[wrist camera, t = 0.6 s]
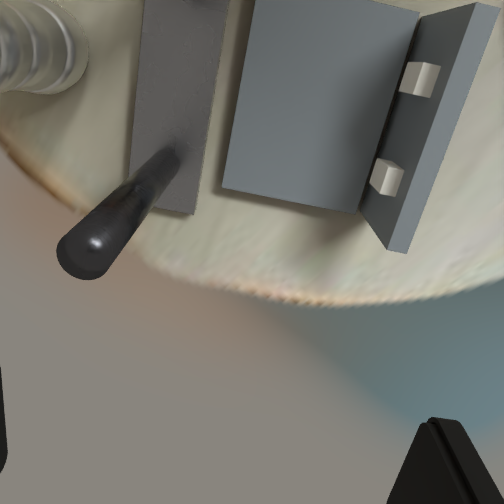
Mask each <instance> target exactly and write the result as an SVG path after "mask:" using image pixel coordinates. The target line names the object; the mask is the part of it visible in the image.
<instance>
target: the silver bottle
mask: <svg viewBox="0 0 504 504" xmlns="http://www.w3.org/2000/svg"><path fill="white" fill-rule="evenodd" d="M88 56H89V52H88V43H87V39H86V36H85V34H84V31H83V29H82V28H81V26H80V24H79V23H78V22H77V20H76V19H75V18H74V17H73V16H72V15H71V14H70V13H68V12H67V11H66V10H65V9H63V8H62V7H61V6H59V5H57V4H56V3H54V2H52V1H50V0H0V93H3V92H6V91H26V92H29V93H35V94H46V95H50V94H57V93H59V92H62V91H64V90H66V89H67V88H69V87H71V86H72V85H73V84H75V83H76V82H77V81H78V80H79V79H80V78H81V76H82V75H83V73H84V72H85V69H86V66H87V63H88Z"/></svg>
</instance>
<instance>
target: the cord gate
mask: <svg viewBox="0 0 504 504" xmlns="http://www.w3.org/2000/svg"><path fill="white" fill-rule="evenodd" d="M228 6H229V0H145V3H144V13H143V24H142V35H141V46H140V57H139V68H138V79H137V89H136V100H135V111H134V122H133V133H132V144H131V155H130V165H129V176H128V179H126V180H125V181H124V182H123V183H122V184H121V185H120V186H119V187H118V188H116V189H115V190H114V191H113V192H112V193H111V194H110V195H109V196H108V197H107V198H105V199H104V200H103V201H102V202H101V203H100V204H99V205H98V206H97V207H95V208H94V209H93V210H92V211H91V212H90V213H89V214H88V215H87V216H86V217H84V218H83V219H82V220H81V221H80V222H79V223H78V224H77V225H76V226H74V227H73V228H72V229H71V230H70V231H69V232H68V233H67V234H66V235H65V236H63V237H62V238H61V240H60V241H59V243H58V245H57V250H56V252H57V258H58V261H59V263H60V265H61V266H62V268H63V269H64V270H65V271H66V272H67V273H69V274H70V275H71V276H73V277H76V278H78V279H82V280H93V279H96V278H99V277H101V276H102V275H104V274H105V273H106V272H107V270H108V269H109V267H110V266H111V265H112V263H113V262H114V260H115V259H116V258H117V256H118V255H119V253H120V252H121V251H122V249H123V248H124V246H125V245H126V244H127V242H128V241H129V239H130V238H131V237H132V235H133V234H134V233H135V231H136V230H137V228H138V227H139V226H140V224H141V223H142V221H143V220H144V219H145V217H146V216H147V214H148V213H149V212H150V210H151V209H152V207H157V208H162V209H167V210H172V211H177V212H182V213H187V214H192V215H194V213H195V210H196V205H197V199H198V193H199V186H200V180H201V174H202V168H203V162H204V155H205V149H206V143H207V137H208V130H209V124H210V118H211V112H212V106H213V99H214V93H215V87H216V81H217V74H218V68H219V62H220V56H221V50H222V43H223V37H224V31H225V25H226V18H227V12H228Z"/></svg>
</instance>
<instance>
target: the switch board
mask: <svg viewBox="0 0 504 504" xmlns="http://www.w3.org/2000/svg"><path fill="white" fill-rule="evenodd" d="M500 9H501V8H498V7H494V6H490V5H486V4H482V3H478V2H476V3H472V4H468V5H464V6H461V7H457V8H453V9H449V10H446V11H442V12H438V13H434V14H431V15H427V16H423V17H422V19H421V23H420V26H419V29H418V32H417V35H416V38H415V41H414V44H413V47H412V51H411V54H410V57H409V60H408V63H407V66H406V69H405V72H404V75H403V79H402V82H401V85H400V88H399V91H398V94H397V97H396V100H395V103H394V107H393V110H392V113H391V116H390V119H389V122H388V125H387V128H386V131H385V135H384V138H383V141H382V144H381V147H380V150H379V153H378V156H377V159H376V162H375V166H374V169H373V172H372V175H371V178H370V181H369V184H368V187H367V190H366V194H365V197H364V200H363V203H362V206H361V209H360V212H361V213H362V215H363V216H364V217H365V219H366V220H367V222H368V223H369V225H370V226H371V228H372V229H373V231H374V232H375V233H376V235H377V236H378V238H379V239H380V241H381V242H382V244H383V245H384V247H385V248H386V250H389V251H394V252H399V253H404V254H407V252H408V249H409V246H410V244H411V241H412V239H413V236H414V233H415V231H416V228H417V226H418V223H419V220H420V218H421V215H422V212H423V210H424V207H425V205H426V202H427V199H428V197H429V194H430V192H431V189H432V186H433V184H434V181H435V179H436V176H437V173H438V171H439V168H440V166H441V163H442V160H443V158H444V155H445V152H446V150H447V147H448V145H449V142H450V139H451V137H452V134H453V132H454V129H455V126H456V124H457V121H458V119H459V116H460V113H461V111H462V108H463V106H464V103H465V100H466V98H467V95H468V92H469V90H470V87H471V85H472V82H473V79H474V77H475V74H476V72H477V69H478V66H479V64H480V61H481V59H482V56H483V53H484V51H485V48H486V45H487V43H488V40H489V38H490V35H491V32H492V30H493V27H494V25H495V22H496V19H497V17H498V14H499V12H500ZM419 13H420V12H416V11H411V10H407V9H403V8H399V7H395V6H391V5H386V4H382V3H378V2H374V1H370V0H256V1H255V7H254V12H253V18H252V23H251V29H250V34H249V40H248V45H247V51H246V56H245V62H244V67H243V72H242V78H241V83H240V89H239V94H238V100H237V105H236V111H235V116H234V122H233V127H232V133H231V138H230V144H229V149H228V155H227V160H226V166H225V171H224V177H223V182H222V188H227V189H232V190H237V191H241V192H246V193H251V194H256V195H261V196H266V197H271V198H276V199H281V200H286V201H291V202H296V203H301V204H306V205H311V206H316V207H321V208H325V209H330V210H335V211H340V212H345V213H350V214H356V211H357V208H358V205H359V202H360V199H361V196H362V192H363V189H364V186H365V183H366V180H367V177H368V174H369V170H370V167H371V164H372V161H373V158H374V155H375V152H376V148H377V145H378V142H379V139H380V136H381V133H382V130H383V126H384V123H385V120H386V117H387V114H388V111H389V108H390V104H391V101H392V98H393V95H394V92H395V89H396V86H397V83H398V79H399V76H400V73H401V70H402V67H403V64H404V61H405V57H406V54H407V51H408V48H409V45H410V42H411V39H412V35H413V32H414V29H415V26H416V23H417V20H418V17H419Z"/></svg>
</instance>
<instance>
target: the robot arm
mask: <svg viewBox="0 0 504 504" xmlns="http://www.w3.org/2000/svg"><path fill="white" fill-rule="evenodd" d="M7 453H8V450H7V438H6V426H5V414H4V403H3V390H2V378H1V367H0V473H1V471H2V469H3V468H4V465H5V463H6V459H7ZM387 504H504V499H503V498H502V496H501V494H500V492H499V490H498V488H497V486H496V485H495V483H494V481H493V479H492V478H491V476H490V474H489V473H488V471H487V469H486V467H485V465H484V463H483V462H482V460H481V458H480V456H479V455H478V453H477V451H476V449H475V447H474V445H473V444H472V442H471V440H470V438H469V437H468V435H467V433H466V431H465V429H464V428H463V426H462V425H461V423H460V422H458V421H456V420H450V419H443V418H436V417H431V418H429V419H428V421H427V422H426V423H422V424H420V426H419V428H418V431H417V433H416V435H415V437H414V440H413V442H412V444H411V447H410V449H409V451H408V454H407V456H406V458H405V461H404V463H403V465H402V467H401V470H400V472H399V474H398V477H397V479H396V482H395V484H394V486H393V489H392V491H391V493H390V495H389V497H388V500H387Z"/></svg>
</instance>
